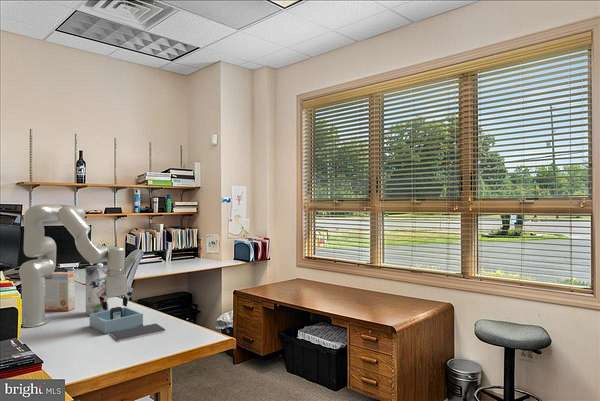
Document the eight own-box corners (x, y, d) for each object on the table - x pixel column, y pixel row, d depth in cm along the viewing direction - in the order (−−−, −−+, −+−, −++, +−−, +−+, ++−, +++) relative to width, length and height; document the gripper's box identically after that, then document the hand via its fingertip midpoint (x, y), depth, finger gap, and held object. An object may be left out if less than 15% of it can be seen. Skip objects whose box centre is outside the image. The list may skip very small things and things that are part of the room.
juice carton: (83, 315, 221) (82, 264, 221) (98, 310, 231) (97, 261, 231) (96, 316, 219) (96, 265, 218) (111, 311, 229) (110, 262, 229)
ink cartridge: (111, 325, 200) (111, 309, 200) (110, 324, 202) (109, 308, 202) (122, 323, 203) (122, 307, 203) (120, 322, 205) (120, 306, 205)
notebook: (156, 326, 204) (110, 335, 190) (156, 323, 204) (110, 332, 190) (166, 333, 194) (118, 343, 180) (166, 329, 194) (118, 339, 180)
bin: (105, 334, 190) (105, 321, 190) (89, 326, 202) (89, 314, 202) (143, 325, 203) (142, 313, 203) (126, 318, 215) (126, 306, 215)
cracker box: (75, 308, 235) (75, 271, 235) (68, 311, 229) (68, 273, 228) (51, 308, 236) (51, 271, 236) (44, 311, 230) (44, 273, 230)
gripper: (100, 275, 194) (99, 312, 194) (136, 271, 206) (135, 306, 206) (94, 273, 199) (93, 309, 199) (129, 269, 211) (128, 303, 212)
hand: (115, 307), depth 203 cm, fingers open, 9 cm apart
